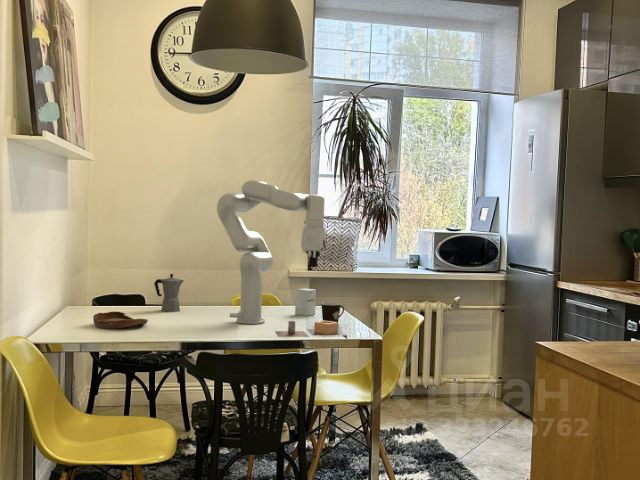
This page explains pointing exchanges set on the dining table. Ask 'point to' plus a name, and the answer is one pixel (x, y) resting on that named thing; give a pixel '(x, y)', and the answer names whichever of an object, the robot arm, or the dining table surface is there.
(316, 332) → the base plate
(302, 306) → the supplement box
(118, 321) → the brown wooden bowl
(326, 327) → the collar
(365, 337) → the dining table surface
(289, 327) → the stand
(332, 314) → the coffee mug
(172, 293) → the coffeepot
